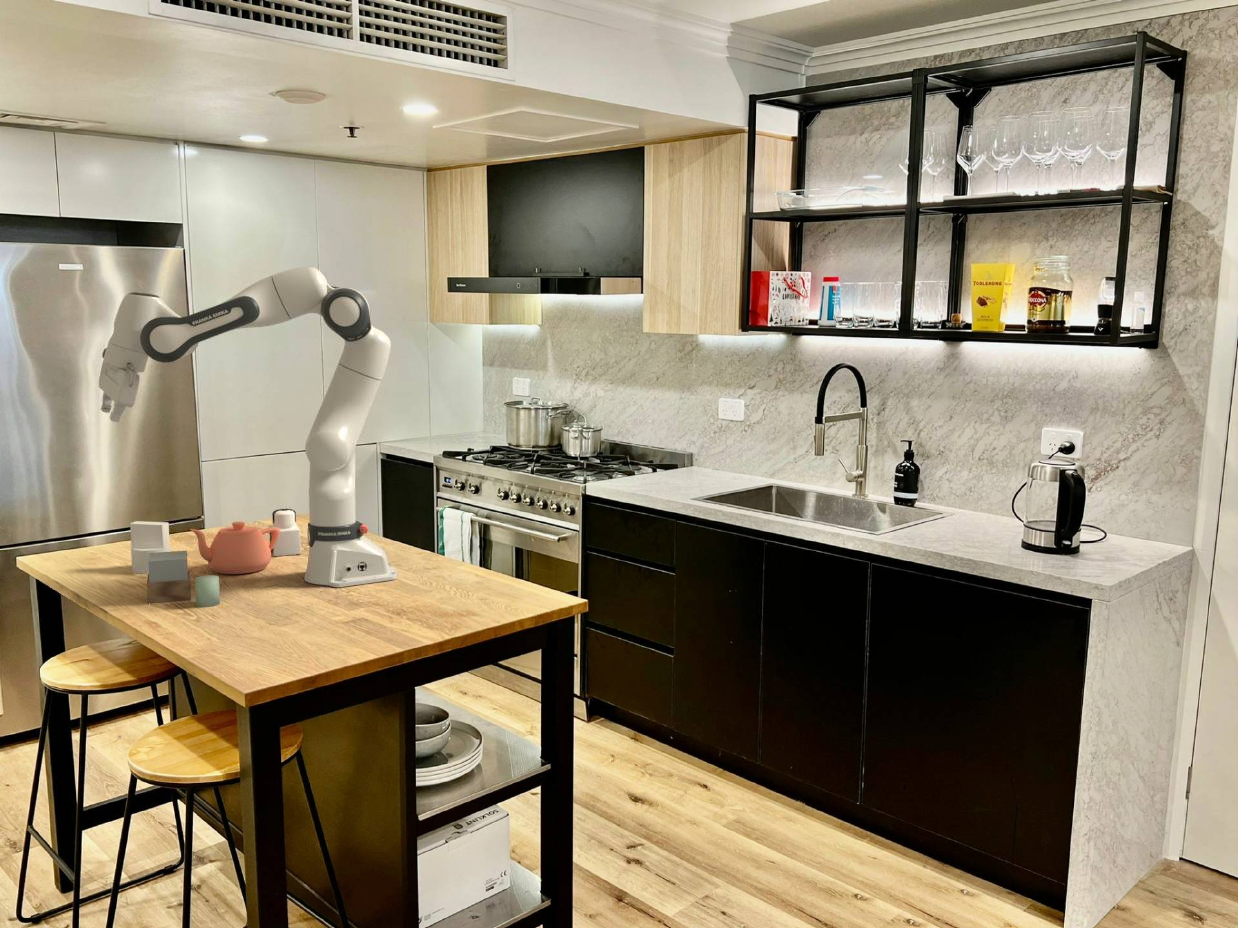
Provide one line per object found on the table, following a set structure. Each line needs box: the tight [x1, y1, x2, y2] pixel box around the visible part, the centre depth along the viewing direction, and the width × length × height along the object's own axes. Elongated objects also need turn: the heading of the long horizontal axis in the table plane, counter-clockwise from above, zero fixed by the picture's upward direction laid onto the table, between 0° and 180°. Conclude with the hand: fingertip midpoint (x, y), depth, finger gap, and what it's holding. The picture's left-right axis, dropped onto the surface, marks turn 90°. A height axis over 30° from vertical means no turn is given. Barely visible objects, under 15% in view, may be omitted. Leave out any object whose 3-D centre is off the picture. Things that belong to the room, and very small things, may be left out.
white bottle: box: [268, 508, 302, 557], centre depth 279 cm, size 7×7×12 cm
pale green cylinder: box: [194, 574, 221, 608], centre depth 232 cm, size 5×5×6 cm
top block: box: [148, 550, 189, 583], centre depth 236 cm, size 8×8×5 cm
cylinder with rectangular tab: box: [129, 520, 171, 575], centre depth 260 cm, size 9×9×12 cm
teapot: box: [189, 521, 280, 575], centre depth 261 cm, size 22×15×12 cm
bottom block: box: [146, 570, 192, 605], centre depth 237 cm, size 9×9×5 cm
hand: (109, 416), depth 238 cm, fingers open, 8 cm apart
